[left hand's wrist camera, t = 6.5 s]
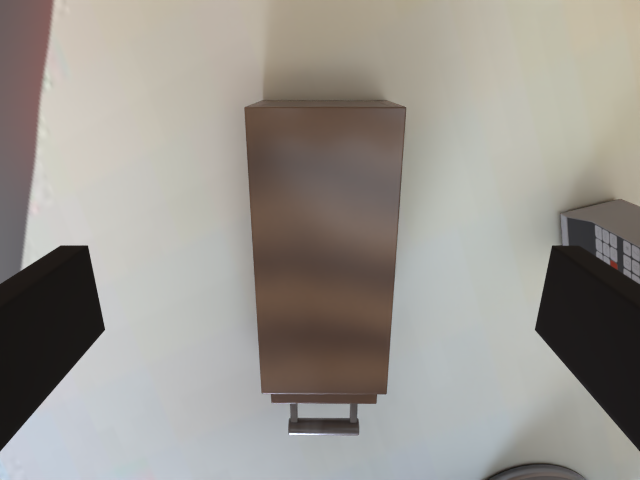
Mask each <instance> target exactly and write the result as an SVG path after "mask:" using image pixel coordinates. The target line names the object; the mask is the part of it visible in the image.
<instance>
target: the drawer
mask: <svg viewBox="0 0 640 480" xmlns="http://www.w3.org/2000/svg"><path fill="white" fill-rule="evenodd" d="M271 402H272V403H290V413H291V418H289V425H288V433H289V435H359V420H358V418H357V404H376V402H377V394H271ZM297 403H315V404H350V418H298V407H297Z"/></svg>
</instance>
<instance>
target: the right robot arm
mask: <svg viewBox="0 0 640 480" xmlns="http://www.w3.org/2000/svg"><path fill="white" fill-rule="evenodd" d="M489 480H586V479H585V478H583V477H582V476H581V475H579V474H578V473H576V472H574V471H572V470H569V469H566V468H563V467H559V466H554V465H527V466H521V467H517V468H513V469H510V470H507V471H504V472H502V473H500V474H498V475H496V476H494V477H492V478H490V479H489Z"/></svg>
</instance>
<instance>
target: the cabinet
mask: <svg viewBox="0 0 640 480" xmlns="http://www.w3.org/2000/svg"><path fill="white" fill-rule="evenodd" d="M405 117H406V107H403V106H401V105H398V104H395V103H392V102H389V101H387V100H263V101H260V102H257V103H255V104H252V105H249V106H247V107H245V125H246V142H247V158H248V175H249V191H250V208H251V225H252V241H253V258H254V275H255V291H256V308H257V324H258V341H259V358H260V374H261V391H262V394H386V393H387V380H388V365H389V351H390V336H391V321H392V307H393V292H394V278H395V263H396V249H397V234H398V219H399V205H400V190H401V176H402V161H403V147H404V132H405Z"/></svg>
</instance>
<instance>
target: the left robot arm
mask: <svg viewBox="0 0 640 480" xmlns="http://www.w3.org/2000/svg"><path fill="white" fill-rule="evenodd" d="M104 330H105V327H104V322H103V317H102V312H101V308H100V303H99V298H98V293H97V288H96V283H95V278H94V273H93V268H92V264H91V259H90V254H89V249H88V246H59V247H58V248H56V249H55V250H53V251H51V252H50V253H48V254H47V255H45V256H44V257H42V258H40V259H39V260H37V261H36V262H34V263H33V264H31V265H29V266H28V267H26V268H25V269H23V270H22V271H20V272H18V273H17V274H15V275H14V276H12V277H11V278H9V279H7V280H6V281H4V282H3V283H1V284H0V451H1V450H2V449H3V448H4V446H5V445H6V444H7V443H8V442H9V441H10V439H11V438H12V437H13V436H14V435H15V434H16V432H17V431H18V430H19V429H20V428H21V427H22V425H23V424H24V423H25V422H26V421H27V420H28V419H29V417H30V416H31V415H32V414H33V413H34V412H35V410H36V409H37V408H38V407H39V406H40V405H41V403H42V402H43V401H44V400H45V399H46V398H47V396H48V395H49V394H50V393H51V392H52V391H53V390H54V388H55V387H56V386H57V385H58V384H59V383H60V381H61V380H62V379H63V378H64V377H65V376H66V374H67V373H68V372H69V371H70V370H71V369H72V368H73V366H74V365H75V364H76V363H77V362H78V361H79V359H80V358H81V357H82V356H83V355H84V354H85V352H86V351H87V350H88V349H89V348H90V347H91V345H92V344H93V343H94V342H95V341H96V340H97V339H98V337H99V336H100V335H101V334H102V333H103V332H104ZM535 330H536V332H537V333H538V334H539V335H540V336H541V337H542V339H543V340H544V341H545V342H546V343H547V344H548V345H549V347H550V348H551V349H552V350H553V351H554V352H555V354H556V355H557V356H558V357H559V358H560V359H561V361H562V362H563V363H564V364H565V365H566V366H567V368H568V369H569V370H570V371H571V372H572V373H573V374H574V376H575V377H576V378H577V379H578V380H579V381H580V383H581V384H582V385H583V386H584V387H585V388H586V390H587V391H588V392H589V393H590V394H591V395H592V396H593V398H594V399H595V400H596V401H597V402H598V403H599V405H600V406H601V407H602V408H603V409H604V410H605V412H606V413H607V414H608V415H609V416H610V417H611V419H612V420H613V421H614V422H615V423H616V424H617V425H618V427H619V428H620V429H621V430H622V431H623V432H624V434H625V435H626V436H627V437H628V438H629V439H630V441H631V442H632V443H633V444H634V445H635V446H636V448H637V449H638V450H639V451H640V284H639V283H637V282H636V281H634V280H633V279H631V278H629V277H628V276H626V275H625V274H623V273H622V272H620V271H618V270H617V269H615V268H614V267H612V266H611V265H609V264H607V263H606V262H604V261H603V260H601V259H600V258H598V257H596V256H595V255H593V254H592V253H590V252H589V251H587V250H585V249H584V248H582V247H581V246H552V249H551V254H550V259H549V264H548V268H547V273H546V278H545V283H544V288H543V293H542V298H541V303H540V308H539V312H538V317H537V322H536V327H535Z"/></svg>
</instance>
